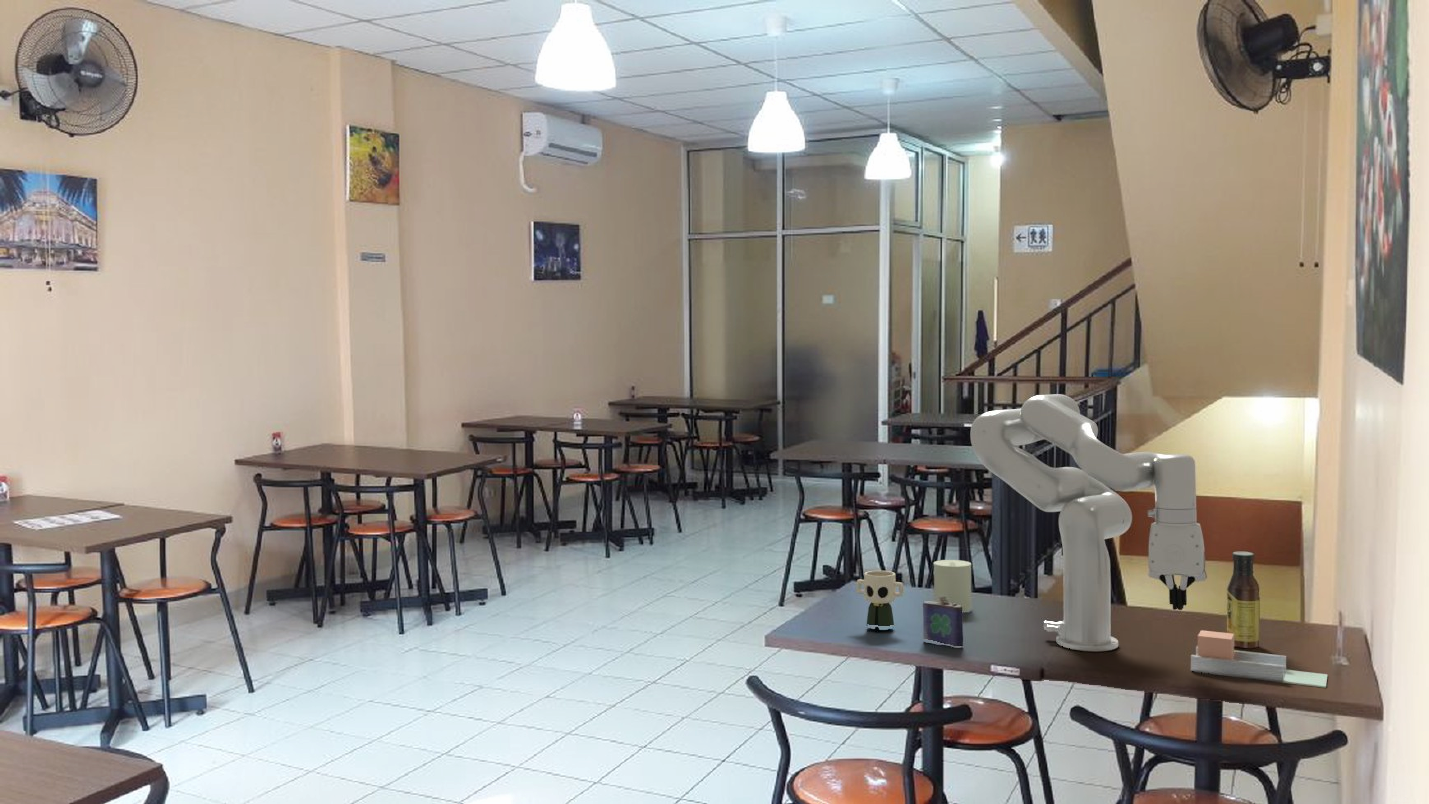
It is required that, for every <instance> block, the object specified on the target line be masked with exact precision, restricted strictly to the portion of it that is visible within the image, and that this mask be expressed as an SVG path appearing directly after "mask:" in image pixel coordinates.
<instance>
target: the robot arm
mask: <svg viewBox="0 0 1429 804" xmlns="http://www.w3.org/2000/svg"><path fill="white" fill-rule="evenodd" d="M1098 433H1099V428H1098V425H1097V423H1096V422H1095V421H1093V420H1092V419H1090V418H1088V417H1086V416H1084V415H1083V414H1082V413H1081V411H1080V407H1079V405H1078V403H1077V402H1076V401H1075V400H1074V398H1072V397H1070V396H1068V395H1066V394H1062V393H1061V394H1060V393H1059V394H1058V393H1056V394H1055V393H1054V394H1052V393H1051V394H1037V395H1034V396H1031V397H1030V398H1028V399H1027V400H1025V401H1024V402H1023V404H1022V406H1021V408H1014V409H1013V408H1011V409H996V410H991V411H986V412H984V413H981V414H980V415H979V416H977V417H976V418H975V419H974V420H973V422H972V424H971V427H970V434H969V435H970V443H971V447H972V450H973V452H974V455H975V456H976V458H977V459H978V460H979V462H980V463H981V464H982V465H983V466H984V467H985V468H986V469H987V470H988V471H990V472H991V473H992V474H994V475H995V476H996V477H998V478H999V479H1000V480H1002V481H1003V482H1004V483H1006V484H1007V485H1008V486H1010V488H1012V489H1013V490H1014V491H1016V492H1017V493H1018V494H1020V495H1021V496H1022V497H1024V498H1025V499H1026V500H1028V501H1029V502H1030V503H1031V504H1033V505H1034V506H1035V507H1036V508H1038V509H1039V510H1041V511H1043V512H1045V513H1057V512H1060V513H1059V514H1058V529H1059V533H1060V539H1061V544H1062V545H1061V546H1062V547H1061V548H1062V561H1063V563H1062V564H1063V566H1062V568H1063V620H1062V621H1061V620H1060V621H1058V622H1055V621H1050V620H1044V621H1043V629H1044V631H1045V630H1046V632H1048V633H1057V634H1058V635H1057V636H1056V637H1055V639H1056V640H1055V641H1056V644H1057V645H1059V646H1060V647H1062V646H1063V648H1066V649H1069V648H1070V650H1074V651H1075V650H1076V651H1082V652H1107V651H1112V650H1115V649H1117V648H1118V647H1119V640H1118V639H1117V638H1115V637H1114V636H1111V632H1112V631H1111V623H1112V622H1111V621H1112V620H1111V617H1112V616H1111V599H1112V598H1111V593H1112V592H1111V589H1112V588H1111V558H1110V555H1109V551H1108V547H1107V545H1106V541H1105V540H1108V539H1113V538H1116V537H1119V536H1122V535H1123V534H1124V533H1126V532H1127V531H1128V530H1129V528H1131V525H1132V521H1133V514H1132V510H1131V508H1130V506H1129V504H1128V502H1126V500H1125V499H1124V498H1122V497H1121V495H1119V494H1118V493H1117V492H1116V491H1119V492H1131V491H1132V492H1133V491H1137V490H1145V489H1152V488H1153V489H1154V501H1155V502H1154V506H1155V507H1154V508H1153V509H1148V510H1147V517H1148V518H1149V517H1150V518H1153V520H1154V521H1155V522H1152V523H1151V524H1150V531H1149V538H1148V558H1147V559H1148V569H1149V571H1148V577H1150V578H1152V579H1154V580H1159V581H1161V582H1162V583H1163V585H1165V586H1166V588H1167V589H1168V592H1169V593H1168V595H1169V596H1168V599H1169V601H1168V602H1169V605H1172V610H1174V611H1176V610H1179V611H1183V609H1184V606H1187V604H1188V603H1187V597H1188V596H1187V589H1188V588H1189V587H1190V586H1191V585H1192V584H1194V583H1198V582H1203V581H1206V580H1207V578H1208V575H1207V571H1206V552H1205V543H1204V542H1205V541H1204V535H1203V531H1202V526H1201V524H1200V523H1198V522H1197V521H1198V520H1197V517H1198V515H1197V485H1196V484H1197V483H1196V482H1197V481H1196V477H1197V475H1196V461H1195V459H1194V457H1193V456H1191V455H1189V454H1181V453H1178V454H1176V453H1173V454H1171V453H1170V454H1167V453H1166V454H1162V453H1156V452H1152V451H1142V452H1141V451H1140V452H1139V451H1138V452H1130V453H1122V452H1119V451H1117V450H1116V449H1114V448H1112V447H1110V446H1108V445H1106V444H1105V443H1103V442H1102V441H1100V440H1099V439H1098V438H1097V437H1098ZM1043 440H1045V441H1047V442H1049V443H1051V444H1053V445H1054V446H1056V447H1057V448H1059V449H1061V450H1063V451H1064V452H1065V453H1068V454H1069V455H1070V456H1072V458H1073V460H1074V462H1075V463H1076V464H1077V465H1078V467H1079V468H1078V467H1075V466H1063V467H1051V466H1049V465H1047V464H1045V463H1044V462H1042V461H1041V460H1040V459H1038V458H1037V457H1036V456H1035V455H1034V454H1031V453H1030V452H1028V451H1026V450H1024V449H1022V448H1020V447H1018V446H1023V445H1024V446H1025V445H1028V444H1033V443H1035V442H1038V441H1043ZM1114 490H1115V491H1114ZM1175 576H1180V584H1179V585H1177V584H1176V579H1175Z"/></svg>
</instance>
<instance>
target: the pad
mask: <svg viewBox="0 0 1429 804" xmlns="http://www.w3.org/2000/svg"><path fill="white" fill-rule="evenodd" d="M1327 680H1328V674H1326V673H1320V672H1319V673H1318V672H1309V671H1302V670H1300V671H1299V670H1293V669H1286V672H1285V676H1284V680H1283V684H1291V685H1292V684H1293V685H1300V686H1307V687H1317V688H1322V689H1326V688H1327V682H1328V681H1327Z"/></svg>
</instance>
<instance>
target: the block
mask: <svg viewBox="0 0 1429 804" xmlns="http://www.w3.org/2000/svg"><path fill="white" fill-rule="evenodd" d="M1197 646H1198V655H1199V656H1207V657H1216V658H1225V659H1234V650H1235V646H1234V634H1232V633H1227V632H1221V631H1210V630H1200V632H1199V633H1198V634H1197Z"/></svg>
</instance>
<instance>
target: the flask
mask: <svg viewBox="0 0 1429 804" xmlns="http://www.w3.org/2000/svg"><path fill="white" fill-rule="evenodd" d="M946 596H947V595H944V596H943V595H942V596H941V597H939V599H940V602H934V600H932V601H928V600H925V601H924V602H923V603H922V610H923V611H922V615H923V618H922V619H923V620H922V621H923V623H922V624H923V625H922V626H923V627H922V628H923V629H922V630H923V632H922V633H923V634H922V640H923V639H928V640H933V641H937V642H940V643H944V644H950V645H953V646H963V647H964V629H963V626H964V624H963V614H962V606H961V605H957V604H956V603H954V604H949V603H951V602H949V601H948V600H946V599H945V598H946Z"/></svg>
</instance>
